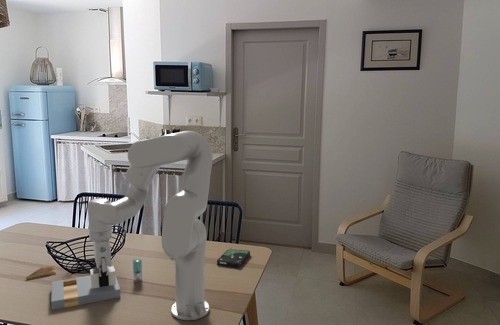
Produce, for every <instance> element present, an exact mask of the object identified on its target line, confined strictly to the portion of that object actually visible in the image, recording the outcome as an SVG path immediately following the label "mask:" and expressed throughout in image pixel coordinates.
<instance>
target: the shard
mask: <svg viewBox="0 0 500 325" xmlns="http://www.w3.org/2000/svg"><path fill="white" fill-rule="evenodd" d="M56 274H57V272H56V268H55V265H49V266H43V267H41V268H38V269H37V270H36V271H34V272H33V273H31V274H29V275H28V276H26V277H25V279H26V280H27V279H29V280H33V279H37V277H38V278H41V276H42V277H46V276H52V275H56ZM32 278H33V279H32Z"/></svg>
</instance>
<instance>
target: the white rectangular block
mask: <svg viewBox="0 0 500 325" xmlns="http://www.w3.org/2000/svg"><path fill="white" fill-rule="evenodd" d="M107 267H108V266H107ZM107 269H108V275H109V285H115V284H116V278H117V275H116V269H115V266H114V265H112V266H111V267H108V268H107ZM101 271H102V269H101ZM89 274H90V276H91V286H92V288H98V287H99V269H98V268H97V267H96V268H91V269H90V270H89Z"/></svg>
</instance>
